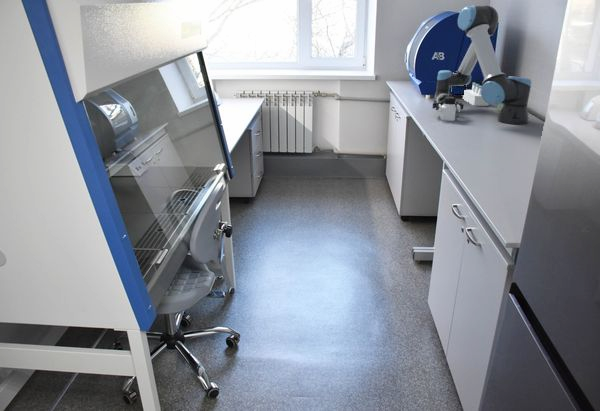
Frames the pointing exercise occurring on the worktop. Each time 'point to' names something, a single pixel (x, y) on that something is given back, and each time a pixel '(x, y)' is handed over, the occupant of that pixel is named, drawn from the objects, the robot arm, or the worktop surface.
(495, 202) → the worktop surface
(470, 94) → the tube rack
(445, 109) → the medicine bottle
